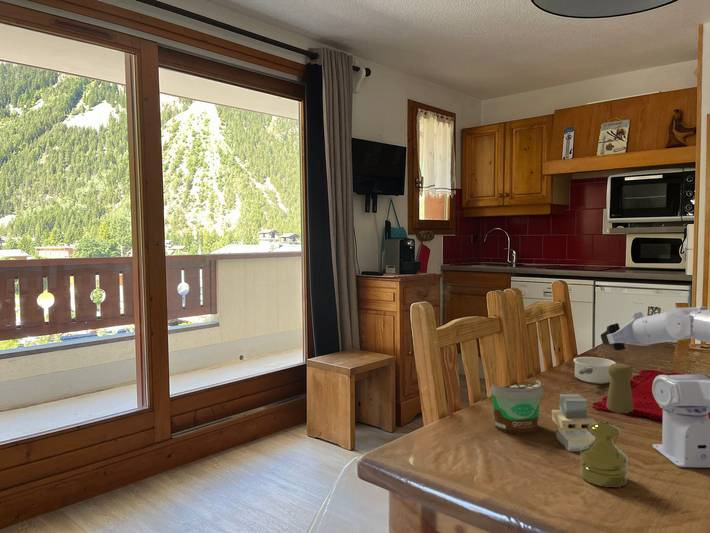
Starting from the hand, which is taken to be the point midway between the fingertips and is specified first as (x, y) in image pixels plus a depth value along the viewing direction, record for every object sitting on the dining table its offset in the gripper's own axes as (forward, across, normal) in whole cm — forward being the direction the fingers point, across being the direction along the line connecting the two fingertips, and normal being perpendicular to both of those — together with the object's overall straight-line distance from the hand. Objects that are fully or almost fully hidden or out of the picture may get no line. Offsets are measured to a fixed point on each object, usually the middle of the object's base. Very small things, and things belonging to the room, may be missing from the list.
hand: (618, 335), depth 117 cm
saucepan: (+32, -8, +13) cm, 36 cm away
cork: (+11, -1, +18) cm, 21 cm away
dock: (-7, +21, +18) cm, 29 cm away
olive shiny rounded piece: (-21, +25, +22) cm, 39 cm away
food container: (+1, +28, +15) cm, 32 cm away
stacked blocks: (+3, +16, +17) cm, 23 cm away
